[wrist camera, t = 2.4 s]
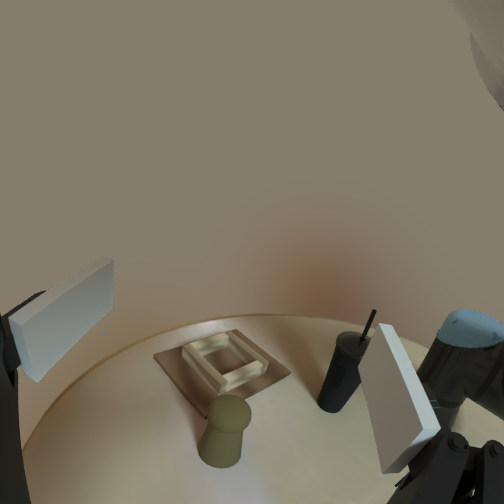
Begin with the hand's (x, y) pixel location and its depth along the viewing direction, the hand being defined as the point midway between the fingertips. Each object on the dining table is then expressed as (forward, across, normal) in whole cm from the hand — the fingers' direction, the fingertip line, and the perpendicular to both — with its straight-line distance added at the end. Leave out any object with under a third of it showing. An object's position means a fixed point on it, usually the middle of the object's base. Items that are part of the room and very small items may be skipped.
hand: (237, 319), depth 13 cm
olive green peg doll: (+12, +1, -30) cm, 32 cm away
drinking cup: (+26, +18, -30) cm, 44 cm away
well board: (+30, -2, -30) cm, 42 cm away
